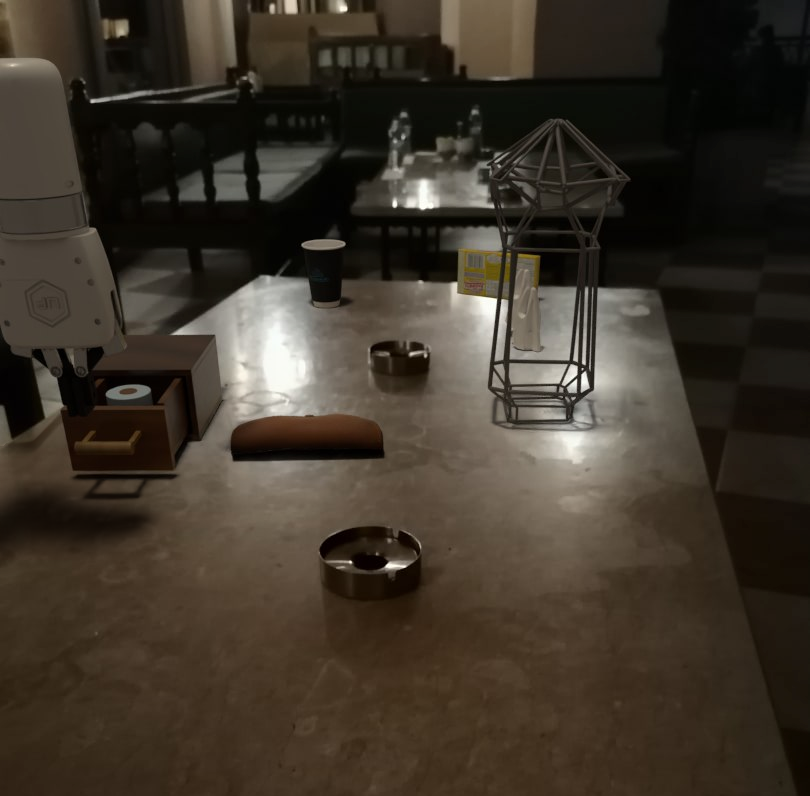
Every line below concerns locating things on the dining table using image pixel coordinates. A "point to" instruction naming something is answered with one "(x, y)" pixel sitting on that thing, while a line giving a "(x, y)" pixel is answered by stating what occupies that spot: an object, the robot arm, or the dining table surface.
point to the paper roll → (129, 396)
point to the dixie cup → (324, 271)
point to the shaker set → (525, 314)
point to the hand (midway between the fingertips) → (82, 411)
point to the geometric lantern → (612, 195)
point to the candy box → (490, 272)
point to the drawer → (130, 428)
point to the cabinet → (173, 370)
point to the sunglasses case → (306, 434)
